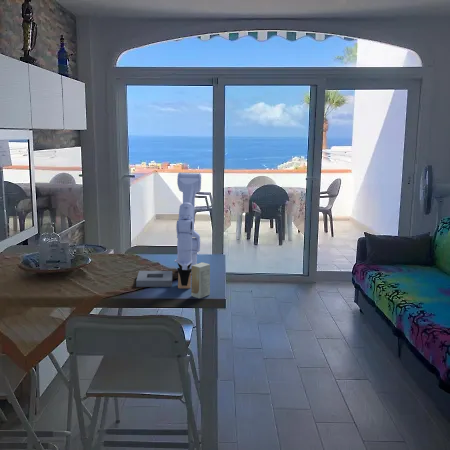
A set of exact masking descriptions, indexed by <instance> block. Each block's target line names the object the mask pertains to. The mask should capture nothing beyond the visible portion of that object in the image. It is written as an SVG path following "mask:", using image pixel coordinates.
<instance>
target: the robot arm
mask: <svg viewBox="0 0 450 450" xmlns="http://www.w3.org/2000/svg"><path fill="white" fill-rule="evenodd" d="M176 179H177V182H176V184H177V188H178V191H179V192H180V193H182V203H181V204H180V205H179V210H178V220H176V223H175V224H176V225H175V228H176V229H175V231H176V238H177V245H176V246H177V248H176V249H177V259H174V263H177V265H178V267H177V273H178V272H179V275H180V279H181V284H182V286H187V284H188V279H189V275H190V273H191V275H192V265H195V264H198V262H197V261H198V253H199V252H200V251H201V235H200V233H199V232H197V231H196V230H195V210H196V209H195V205H196V204H195V203H196V195H197V193H200V192H201V189H202V174H201V173H200V172H198V173H197V172H196V173H194V172H193V173H191V172H178V173H177V178H176Z"/></svg>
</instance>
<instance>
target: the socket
mask: <svg viewBox="0 0 450 450" xmlns="http://www.w3.org/2000/svg"><path fill="white" fill-rule="evenodd" d="M136 277H137V278H136V280H135V281H136V283H135V284H136V288H137V287H139V288H142V287H143V288H144V287H145V288H148V287H149V288H153V287H155V288H159V287H163V288H166V287H167V288H169V287H172V286H173V270H139V271H138V273H137V276H136Z"/></svg>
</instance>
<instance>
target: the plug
mask: <svg viewBox="0 0 450 450" xmlns="http://www.w3.org/2000/svg"><path fill="white" fill-rule="evenodd" d="M177 275H178V276H177V280H178V281H177V288H178V289H191V275H192V274H191V273H190V275H189V279H188V284H187V286H182V284H181V279H180V275H179V272H178V271H177Z"/></svg>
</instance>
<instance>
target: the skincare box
mask: <svg viewBox="0 0 450 450" xmlns="http://www.w3.org/2000/svg"><path fill="white" fill-rule="evenodd" d="M190 291H191V293H190V294H191V295H190V296H191V297H193V298H196V299H203V298H205V297H207V296H210V295H211V263H206V262H204V261H203V262H202V261H201V262H197V264H195V265H192V274H191V288H190Z"/></svg>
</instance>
